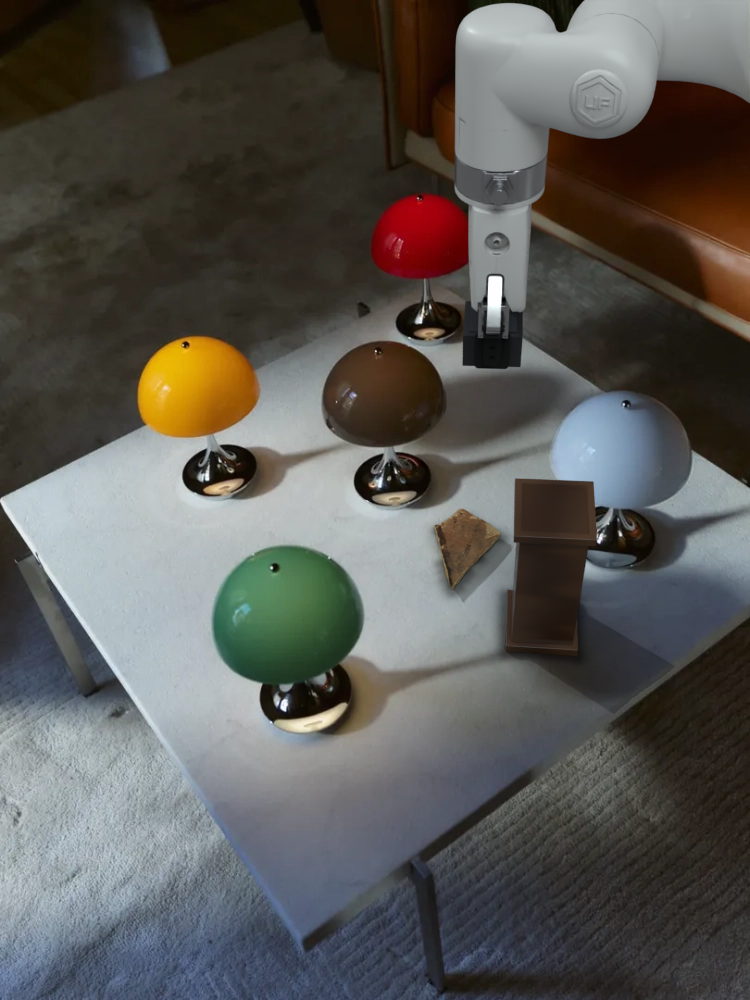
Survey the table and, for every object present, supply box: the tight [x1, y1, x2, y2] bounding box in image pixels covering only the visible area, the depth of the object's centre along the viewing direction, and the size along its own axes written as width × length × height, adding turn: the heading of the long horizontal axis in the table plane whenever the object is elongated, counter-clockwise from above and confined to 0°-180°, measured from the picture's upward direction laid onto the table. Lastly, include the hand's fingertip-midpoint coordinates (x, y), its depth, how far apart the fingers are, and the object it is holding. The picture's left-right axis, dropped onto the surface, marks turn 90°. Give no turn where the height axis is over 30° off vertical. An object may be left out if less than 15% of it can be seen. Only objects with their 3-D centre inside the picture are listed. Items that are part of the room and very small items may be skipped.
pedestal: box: [505, 477, 598, 657], centre depth 102 cm, size 8×8×20 cm
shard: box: [433, 508, 502, 590], centre depth 117 cm, size 11×8×2 cm
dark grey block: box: [461, 300, 524, 368], centre depth 90 cm, size 6×6×4 cm
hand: (492, 344), depth 91 cm, fingers closed on dark grey block, 5 cm apart
